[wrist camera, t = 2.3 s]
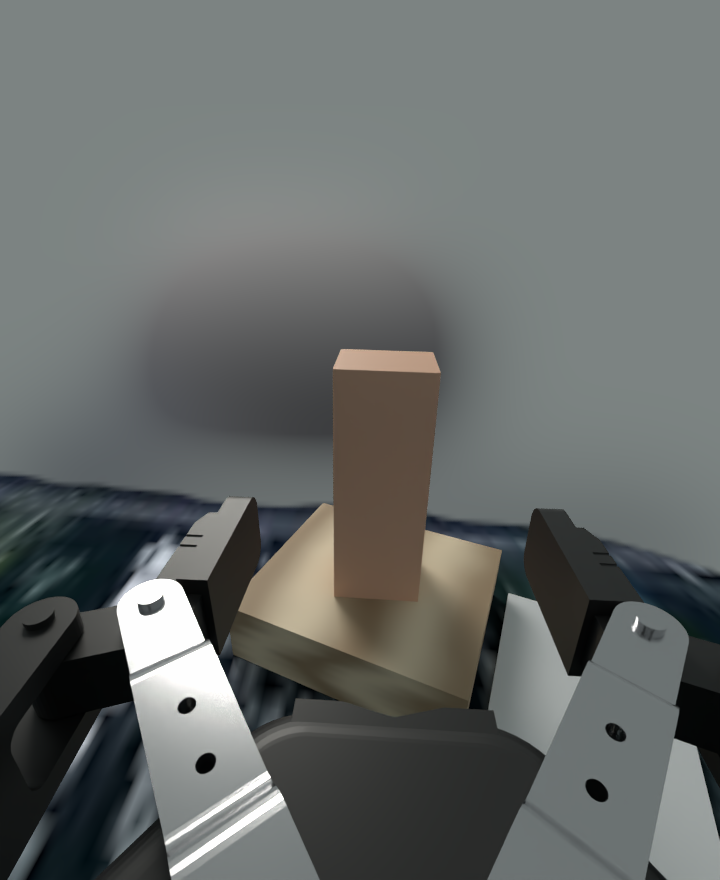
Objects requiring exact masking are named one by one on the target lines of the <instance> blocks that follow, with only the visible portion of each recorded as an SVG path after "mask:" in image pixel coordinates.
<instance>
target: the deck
mask: <svg viewBox="0 0 720 880" xmlns="http://www.w3.org/2000/svg"><path fill="white" fill-rule="evenodd" d="M501 552H502V550H498V549H494V548H491V547H487V546H483V545H479V544H476V543H472V542H468V541H464V540H460V539H457V538H453V537H449V536H445V535H442V534H438V533H434V532H430V531H427V530H425V535H424V545H423V555H422V565H421V575H420V584H419V594H418V602H414V601H398V600H381V599H365V598H348V597H334V506H332V505H328V504H325V503H323V504H322V505H321V506H320V507H319V508H318V509H317V510H316V511H315V512H314V513H313V514H312V515H311V517H310V518H309V519H308V520H307V521H306V522H305V523H304V524H303V525H302V526H301V527H300V528H299V529H298V530H297V531H296V533H295V534H294V535H293V536H292V537H291V538H290V539H289V540H288V541H287V542H286V543H285V544H284V545H283V546H282V547H281V549H280V550H279V551H278V552H277V553H276V554H275V555H274V556H273V557H272V558H271V559H270V560H269V561H268V562H267V563H266V564H265V566H264V567H263V568H262V569H261V570H260V571H259V572H258V573H257V574H256V575H255V576H254V577H253V578H252V579H251V581H250V583H249V585H248V588H247V590H246V593H245V595H244V598H243V600H242V602H241V605H240V607H239V610H238V612H237V615H236V617H235V620H234V622H233V624H232V627H231V629H230V635H231V642H232V649H233V655H235V656H238V657H240V658H242V659H245V660H247V661H249V662H252V663H254V664H256V665H258V666H261V667H263V668H265V669H268V670H270V671H272V672H274V673H277V674H279V675H281V676H284V677H286V678H288V679H290V680H293V681H295V682H297V683H300V684H302V685H304V686H307V687H309V688H311V689H313V690H316V691H318V692H320V693H323V694H325V695H327V696H329V697H332V698H334V699H336V700H339V701H344V702H347V703H350V704H354V705H357V706H360V707H363V708H366V709H369V710H372V711H375V712H378V713H381V714H384V715H388V716H392V717H398V716H404V715H409V714H414V713H419V712H424V711H429V710H434V709H439V708H444V707H446V708H462V709H469V704H470V699H471V695H472V690H473V686H474V681H475V676H476V672H477V667H478V663H479V658H480V653H481V649H482V644H483V640H484V635H485V630H486V626H487V621H488V617H489V612H490V607H491V603H492V598H493V594H494V588H495V583H496V578H497V573H498V568H499V563H500V558H501Z"/></svg>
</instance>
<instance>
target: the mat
mask: <svg viewBox="0 0 720 880" xmlns="http://www.w3.org/2000/svg"><path fill="white" fill-rule="evenodd" d="M580 678H581V677H579V676H568V675H567V672H566V670H565V668H564V665H563V663H562V660H561V658H560V656H559V653H558V651H557V648H556V646H555V643H554V641H553V639H552V636H551V634H550V631H549V629H548V626H547V624H546V622H545V619H544V617H543V614H542V612H541V610H540V607H539V605H538V602H537V601H533V600H530V599H527V598H523V597H520V596H516V595H513V594H510V593H509V594H508V598H507V604H506V610H505V615H504V621H503V627H502V633H501V638H500V644H499V650H498V655H497V661H496V667H495V672H494V678H493V684H492V689H491V695H490V701H489V707H488V710H494V715H495V719H496V723H497V728H498V729H501V730H504V731H506V732H509V733H511V734H513V735H515V736H518V737H519V738H521V739H523V740H525V741H526V742H528V743H530V744H531V745H533V746H534V747H535V748H537V749H538V750H540V751H541V752H542V753H543V754H545V755H546V754H547V751H548V749H549V747H550V745H551V743H552V740H553V738H554V736H555V734H556V731H557V729H558V727H559V725H560V723H561V720H562V718H563V716H564V714H565V711H566V709H567V707H568V705H569V703H570V700H571V698H572V696H573V694H574V691H575V689H576V687H577V685H578V683H579V680H580ZM649 861H650V862H651V863H652V865H653V866H654V867H655V868H656V869H657V870H658V871H659V872H660V873H661V874H662V875H663V876H664V877H665V878H666V879H667V880H720V840H719V836H718V832H717V828H716V824H715V820H714V816H713V811H712V807H711V803H710V799H709V795H708V791H707V787H706V783H705V779H704V775H703V771H702V767H701V763H700V759H699V755H698V751H697V747H696V746H694V745H691V744H688V743H685V742H683V741H680V740H677V739H674V740H673V745H672V750H671V755H670V760H669V765H668V770H667V775H666V779H665V784H664V789H663V794H662V799H661V804H660V809H659V814H658V818H657V823H656V828H655V833H654V838H653V843H652V848H651V853H650V857H649Z"/></svg>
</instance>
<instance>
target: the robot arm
mask: <svg viewBox="0 0 720 880" xmlns="http://www.w3.org/2000/svg"><path fill="white" fill-rule="evenodd" d="M260 549H261V539H260V529H259V520H258V510H257V502H256V500H255V498H254V497H233V496H229V497H228V498H227V499H226V500H225V502H224V503H223V505H222V507H221V508H220V510H219V511H218V513H210V512H209V513H208V514H206V515H205V516H204V517H202V518H201V519H199V520H198V521H197V522H195V523H194V525H193V526H192V528H191V529H190V531H189V532H188V534H187V537H185V538H184V539H183V541H182V542H181V544H180V547H178V548H177V549H176V551H175V552H174V554H173V555H172V557H171V558H170V560H169V561H168V562H167V564H166V565H165V567H164V568H163V570H162V571H161V572H160V574H159V575H158V577H157V578H156V580H152V581H149V582H145V583H143V584H140V585H138V586H136V587H135V588H133V589H132V590H130V591H129V592H128V593H126V594H125V595H124V596H123V597H122V599H121V600H120V602H119V604H118V605H117V606H113V607H108V608H103V609H98V610H93V611H87V612H82V613H80V612H79V609H78V606H77V604H76V602H75V601H74V600H73V599H70V598H67V597H52V598H47V599H43V600H40V601H37V602H35V603H32V604H30V605H28V606H26V607H24V608H23V609H21V610H20V611H18V612H17V613H15V614H14V615H13V616H12V617H11V618H10V619H9V620H8V621H7V622H6V623H5V624H4V625H3V626H2V627H1V628H0V880H7V879H8V877H9V876H10V874H11V872H12V870H13V868H14V867H15V865H16V863H17V861H18V859H19V858H20V856H21V854H22V852H23V850H24V849H25V847H26V845H27V843H28V841H29V839H30V838H31V836H32V834H33V832H34V830H35V829H36V827H37V825H38V823H39V821H40V820H41V818H42V816H43V814H44V812H45V811H46V809H47V807H48V805H49V803H50V801H51V800H52V798H53V796H54V794H55V792H56V791H57V789H58V787H59V785H60V783H61V782H62V780H63V778H64V776H65V774H66V773H67V771H68V769H69V767H70V765H71V763H72V762H73V760H74V758H75V756H76V754H77V753H78V751H79V749H80V747H81V745H82V744H83V742H84V740H85V738H86V736H87V735H88V733H89V731H90V729H91V727H92V725H93V724H94V722H95V720H96V718H97V716H98V715H99V713H100V711H101V709H102V708H106V707H110V706H114V705H118V704H122V703H126V702H130V701H134V702H135V707H136V711H137V716H138V721H139V725H140V730H141V735H142V739H143V744H144V748H145V753H146V758H147V762H148V767H149V772H150V776H151V781H152V786H153V790H154V795H155V799H156V804H157V809H158V813H159V818H158V819H157V820H156V821H155V822H154V823H153V824H152V825H151V826H150V827H149V828H148V829H147V830H146V831H145V832H144V833H143V834H142V835H141V836H140V837H139V838H137V839H136V840H135V841H134V842H133V843H132V844H131V845H130V846H129V847H128V848H127V849H126V850H125V851H124V852H123V853H122V854H121V855H120V856H119V857H118V858H117V859H116V860H115V861H113V862H112V863H111V864H110V865H109V866H108V867H107V868H106V869H105V870H104V871H103V872H102V873H101V874H100V875H99V876H98V877H97V878H96V879H95V880H667V879H666V878H665V877H664V876H663V875H662V874H661V873H660V872H659V871H658V870H657V869H656V868H655V867H654V866H653V865H652V863H651V862H650V861H649V857H650V853H651V848H652V843H653V838H654V833H655V828H656V823H657V818H658V814H659V809H660V804H661V799H662V794H663V789H664V784H665V779H666V775H667V770H668V765H669V760H670V755H671V750H672V745H673V740H674V739H677V740H680V741H683V742H685V743H688V744H691V745H694V746H697V748H698V750H699V751H700V753H701V755H702V757H703V759H704V760H705V762H706V764H707V766H708V768H709V769H710V771H711V773H712V775H713V777H714V778H715V780H716V782H717V784H718V786H719V788H720V645H719V644H715V643H711V642H708V641H704V640H701V639H697V638H694V637H691V636H688V634H687V632H686V630H685V629H684V627H683V626H682V625H681V624H680V623H679V622H678V621H677V620H676V619H675V618H674V617H672V616H671V615H669V614H668V613H666V612H665V611H663V610H661V609H659V608H657V607H654V606H652V605H649V604H646V603H644V602H643V600H642V599H641V598H640V596H639V595H638V593H637V592H636V591H635V589H634V588H633V586H632V585H631V584H630V582H629V581H628V579H627V578H626V576H625V575H624V574H623V572H622V571H621V569H620V568H619V567H617V565H616V562H615V561H614V560H613V558H612V557H611V556H609V553H608V551H607V550H606V548H605V547H604V545H603V544H602V543H601V541H600V540H599V539H598V538H596V537H595V536H594V535H592V534H591V533H590V532H588V531H587V530H586V529H584V528H576V527H575V526H574V524H573V522H572V521H571V519H570V518H569V516H568V515H567V513H566V512H565V511H564V510H562V509H537V508H536V509H534V511H533V513H532V516H531V521H530V526H529V531H528V537H527V542H526V547H525V552H524V567H525V572H526V576H527V578H528V581H529V583H530V585H531V588H532V590H533V593H534V595H535V597H536V600H537V602H538V605H539V607H540V610H541V612H542V614H543V617H544V619H545V622H546V624H547V626H548V629H549V631H550V634H551V636H552V639H553V641H554V643H555V646H556V648H557V651H558V653H559V656H560V658H561V660H562V663H563V665H564V668H565V670H566V672H567V675H568V676H579V677H581V678H580V680H579V683H578V685H577V687H576V689H575V691H574V694H573V696H572V698H571V700H570V703H569V705H568V707H567V709H566V711H565V714H564V716H563V718H562V720H561V723H560V725H559V727H558V729H557V731H556V734H555V736H554V738H553V740H552V743H551V745H550V747H549V749H548V751H547V754H546V755H545V754H543V753H542V752H541V751H540V750H538V749H537V748H535V747H534V746H533V745H531V744H530V743H528V742H526V741H525V740H523V739H521V738H519V737H518V736H515V735H513V734H511V733H509V732H506V731H504V730H501V729H498V728H497V723H496V719H495V715H494V710H479V709H462V708H446V707H444V708H439V709H434V710H429V711H424V712H419V713H414V714H409V715H404V716H398V717H392V716H388V715H384V714H381V713H378V712H375V711H372V710H369V709H366V708H363V707H360V706H357V705H354V704H350V703H347V702H344V701H331V700H314V699H298V698H296V700H295V705H294V710H293V715H291V716H286V717H283V718H280V719H277V720H274V721H271V722H269V723H267V724H265V725H263V726H261V727H259V728H257V729H256V730H254V731H252V732H251V733H250V730H249V728H248V726H247V724H246V721H245V719H244V717H243V714H242V712H241V710H240V708H239V705H238V703H237V701H236V698H235V696H234V694H233V692H232V689H231V687H230V685H229V682H228V680H227V678H226V676H225V673H224V671H223V669H222V667H221V664H220V662H219V660H218V657H217V655H220V654H221V651H222V649H223V646H224V644H225V642H226V639H227V637H228V634H229V632H230V629H231V627H232V624H233V622H234V620H235V617H236V615H237V612H238V610H239V607H240V605H241V602H242V600H243V598H244V595H245V593H246V590H247V588H248V585H249V583H250V581H251V578H252V576H253V573H254V571H255V568H256V566H257V563H258V561H259V556H260Z"/></svg>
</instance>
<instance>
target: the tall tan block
mask: <svg viewBox="0 0 720 880" xmlns="http://www.w3.org/2000/svg"><path fill="white" fill-rule="evenodd" d="M440 376H441V373H440V370H439V367H438V364H437V362H436V359H435V357H434V354H433V352H411V351H383V350H381V351H380V350H354V349H353V350H352V349H341V351H340V354H339V356H338V358H337V361H336V363H335V365H334V367H333V477H334V478H333V479H334V480H333V481H334V482H333V490H334V491H333V494H334V496H333V499H334V597H348V598H365V599H381V600H398V601H414V602H418V594H419V584H420V575H421V565H422V555H423V545H424V535H425V525H426V515H427V505H428V495H429V485H430V475H431V465H432V455H433V446H434V436H435V426H436V416H437V406H438V396H439V386H440Z"/></svg>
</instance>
